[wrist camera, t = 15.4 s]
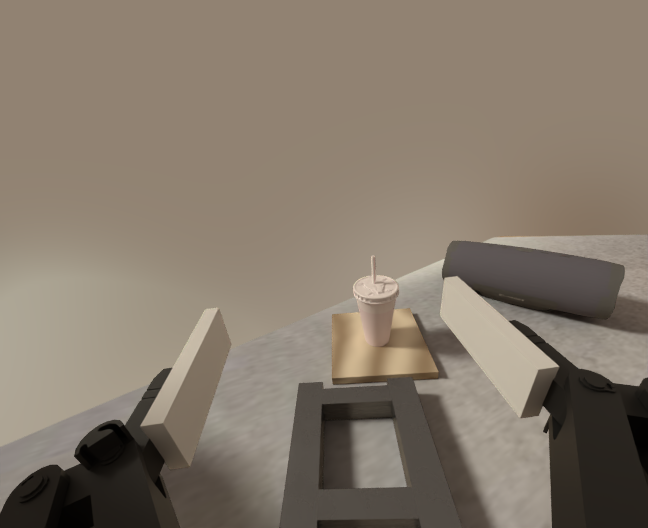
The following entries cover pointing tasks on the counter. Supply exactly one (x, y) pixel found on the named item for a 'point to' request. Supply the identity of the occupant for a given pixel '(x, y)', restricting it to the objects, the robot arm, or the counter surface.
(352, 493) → the dark grey flat frame
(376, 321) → the smoothie
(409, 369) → the birch board
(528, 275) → the bluetooth speaker
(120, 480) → the robot arm
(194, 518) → the counter surface
